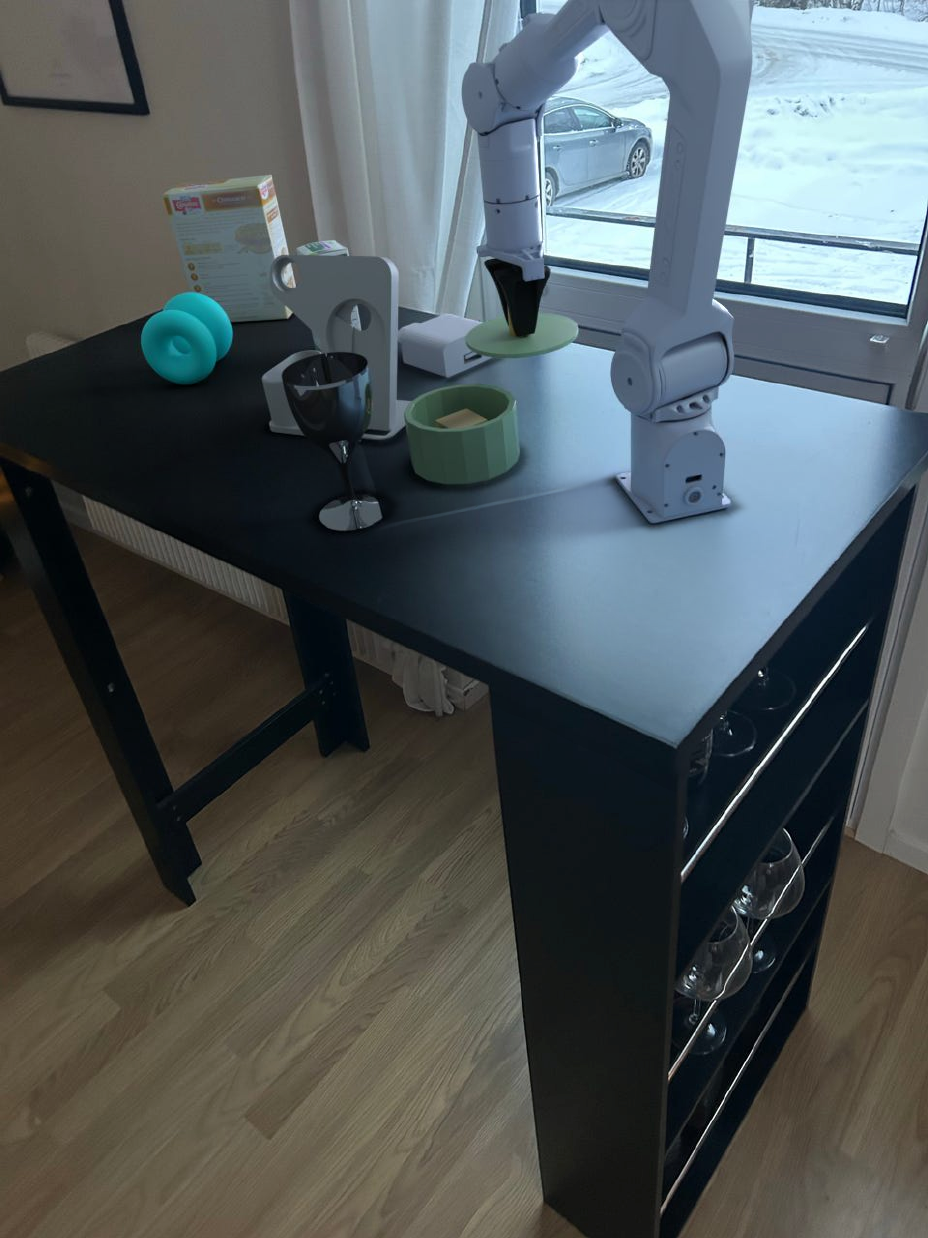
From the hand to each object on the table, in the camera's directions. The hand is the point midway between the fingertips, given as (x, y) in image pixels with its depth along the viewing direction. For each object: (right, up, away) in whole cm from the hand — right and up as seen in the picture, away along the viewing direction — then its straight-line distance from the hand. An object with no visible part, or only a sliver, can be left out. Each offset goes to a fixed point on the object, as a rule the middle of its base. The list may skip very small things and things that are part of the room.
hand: (521, 329), depth 101 cm
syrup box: (-23, +5, +27) cm, 36 cm away
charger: (-10, +3, +22) cm, 25 cm away
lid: (0, -1, 0) cm, 1 cm away
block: (-6, -15, -3) cm, 16 cm away
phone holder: (-20, -8, +10) cm, 24 cm away
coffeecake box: (-40, +17, +46) cm, 63 cm away
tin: (-6, -15, -3) cm, 16 cm away
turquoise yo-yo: (-43, +2, +28) cm, 51 cm away
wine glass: (-17, -21, -8) cm, 29 cm away
